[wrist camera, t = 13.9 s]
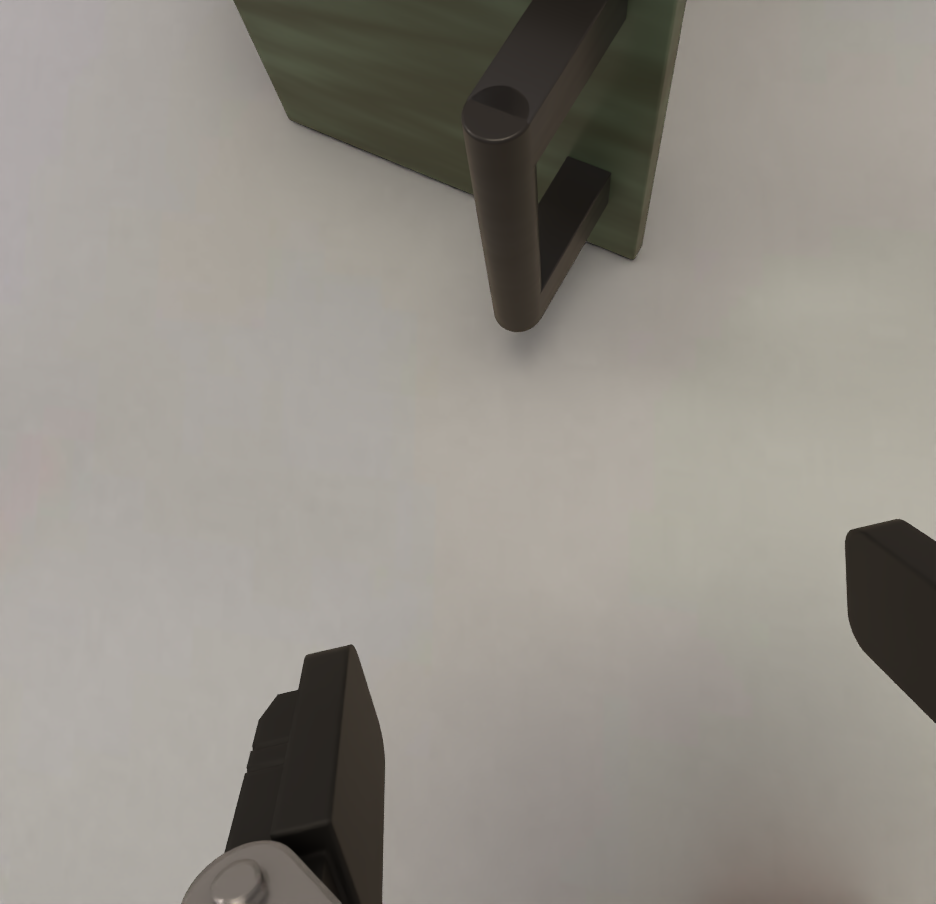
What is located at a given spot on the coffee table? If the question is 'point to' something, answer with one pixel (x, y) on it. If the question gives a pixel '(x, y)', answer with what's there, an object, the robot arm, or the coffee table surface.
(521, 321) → the door
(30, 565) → the coffee table surface
